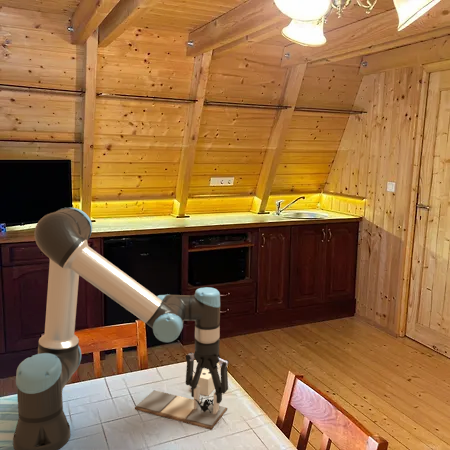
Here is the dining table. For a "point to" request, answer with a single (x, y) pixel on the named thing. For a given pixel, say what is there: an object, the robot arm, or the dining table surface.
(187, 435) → the dining table surface
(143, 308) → the robot arm
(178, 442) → the dining table surface
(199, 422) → the board
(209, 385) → the die
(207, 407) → the creature
